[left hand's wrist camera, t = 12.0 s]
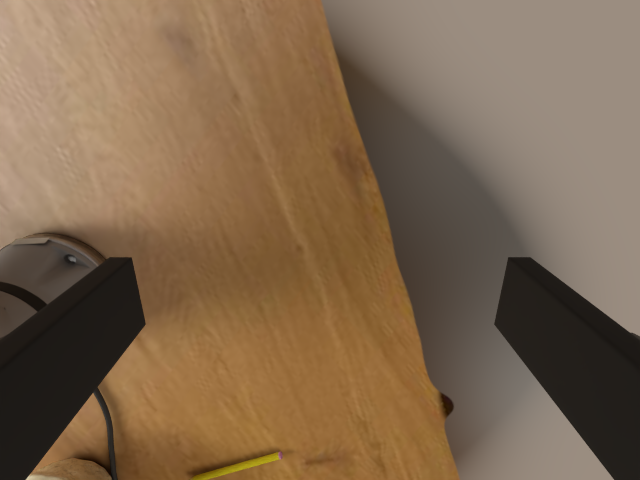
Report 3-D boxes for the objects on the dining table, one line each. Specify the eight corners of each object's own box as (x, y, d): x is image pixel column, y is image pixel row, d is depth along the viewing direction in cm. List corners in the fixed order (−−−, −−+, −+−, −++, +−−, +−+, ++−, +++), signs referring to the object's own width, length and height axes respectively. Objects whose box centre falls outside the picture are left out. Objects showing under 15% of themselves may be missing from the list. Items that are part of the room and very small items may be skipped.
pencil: (280, 449, 56) (279, 455, 55) (282, 454, 56) (282, 460, 55) (186, 476, 58) (183, 482, 57) (189, 480, 58) (186, 486, 57)
